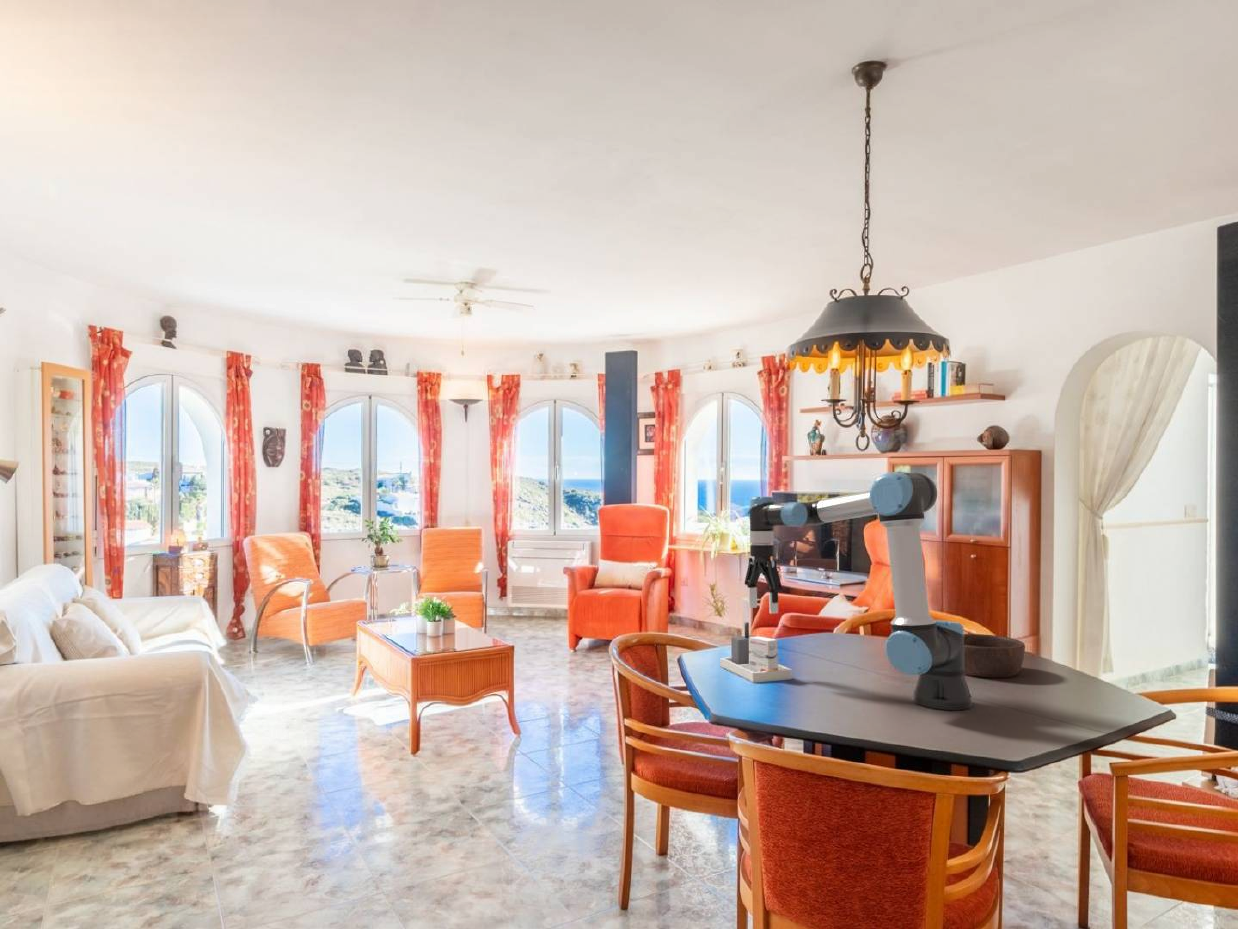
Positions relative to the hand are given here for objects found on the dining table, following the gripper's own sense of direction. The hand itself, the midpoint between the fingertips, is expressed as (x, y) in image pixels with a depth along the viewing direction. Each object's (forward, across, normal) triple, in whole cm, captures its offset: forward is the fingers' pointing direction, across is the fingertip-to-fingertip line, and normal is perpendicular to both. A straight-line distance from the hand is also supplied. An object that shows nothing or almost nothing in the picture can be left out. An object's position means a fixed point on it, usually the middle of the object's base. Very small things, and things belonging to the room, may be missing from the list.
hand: (763, 610), depth 247 cm
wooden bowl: (+22, -17, -72) cm, 77 cm away
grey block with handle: (+21, +11, 0) cm, 24 cm away
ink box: (+21, 0, 0) cm, 21 cm away
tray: (+21, +6, 0) cm, 22 cm away
